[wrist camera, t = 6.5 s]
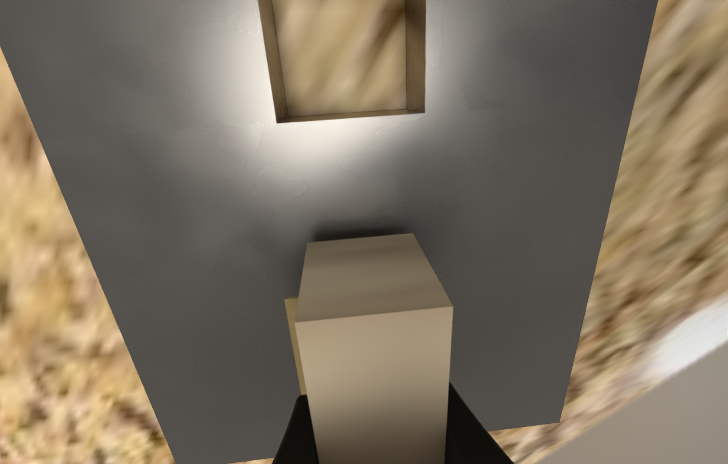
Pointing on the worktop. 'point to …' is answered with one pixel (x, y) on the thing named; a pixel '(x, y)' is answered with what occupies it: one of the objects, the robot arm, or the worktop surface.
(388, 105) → the worktop surface
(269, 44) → the charcoal cover panel
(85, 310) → the worktop surface
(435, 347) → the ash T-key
